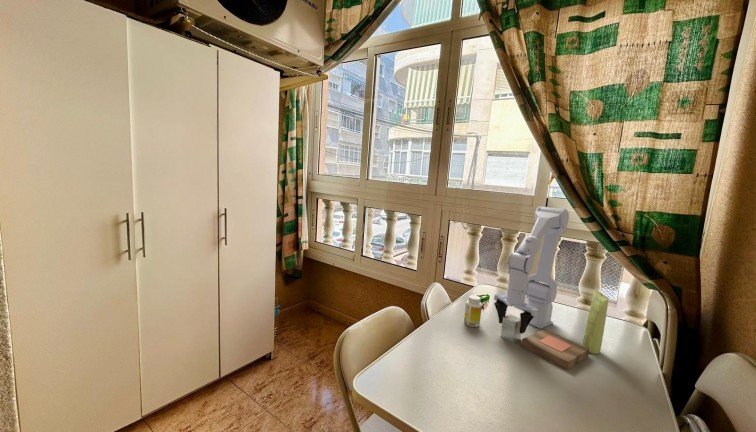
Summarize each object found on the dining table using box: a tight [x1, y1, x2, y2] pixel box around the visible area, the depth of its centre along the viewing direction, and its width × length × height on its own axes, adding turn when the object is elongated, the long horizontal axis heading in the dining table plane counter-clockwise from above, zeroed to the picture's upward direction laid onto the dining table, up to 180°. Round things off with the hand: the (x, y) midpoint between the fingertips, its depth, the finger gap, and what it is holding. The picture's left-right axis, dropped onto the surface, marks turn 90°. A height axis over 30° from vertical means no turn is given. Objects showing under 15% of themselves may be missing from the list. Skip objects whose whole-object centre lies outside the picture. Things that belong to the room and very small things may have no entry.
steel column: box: [500, 314, 522, 343], centre depth 106 cm, size 4×4×7 cm
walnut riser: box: [520, 328, 590, 371], centre depth 99 cm, size 14×14×3 cm
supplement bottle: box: [463, 294, 483, 328], centre depth 113 cm, size 6×6×10 cm
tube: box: [581, 288, 610, 355], centre depth 100 cm, size 6×5×20 cm
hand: (511, 327), depth 105 cm, fingers open, 7 cm apart
